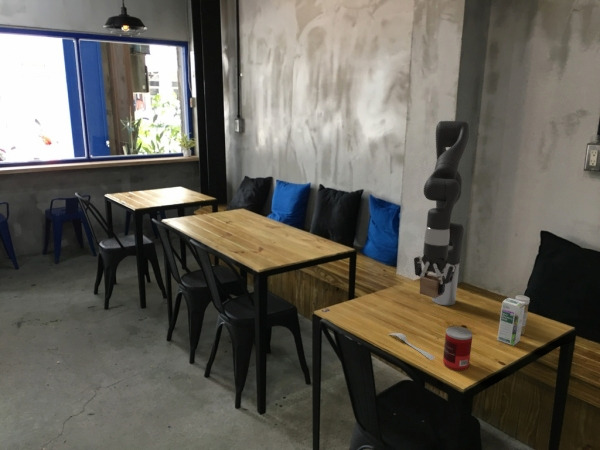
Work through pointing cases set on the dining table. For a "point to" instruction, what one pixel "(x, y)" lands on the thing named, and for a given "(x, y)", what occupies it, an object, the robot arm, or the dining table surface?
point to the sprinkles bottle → (526, 300)
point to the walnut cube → (429, 286)
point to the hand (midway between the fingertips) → (431, 291)
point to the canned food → (457, 348)
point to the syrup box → (511, 321)
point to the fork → (413, 346)
